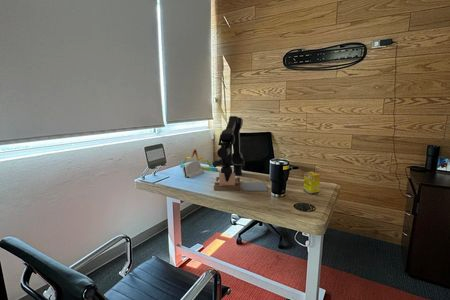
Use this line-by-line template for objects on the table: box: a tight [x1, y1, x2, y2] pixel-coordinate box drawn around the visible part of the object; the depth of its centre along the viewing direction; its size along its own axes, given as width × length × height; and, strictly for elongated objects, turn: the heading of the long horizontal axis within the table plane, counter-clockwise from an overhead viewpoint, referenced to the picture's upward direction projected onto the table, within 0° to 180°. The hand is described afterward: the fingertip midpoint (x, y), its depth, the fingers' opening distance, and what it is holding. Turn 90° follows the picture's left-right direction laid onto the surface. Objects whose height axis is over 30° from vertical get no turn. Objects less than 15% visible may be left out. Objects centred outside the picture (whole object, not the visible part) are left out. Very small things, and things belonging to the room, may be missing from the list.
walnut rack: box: [213, 176, 241, 191], centre depth 147 cm, size 17×15×2 cm
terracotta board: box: [218, 172, 236, 186], centre depth 141 cm, size 2×9×8 cm, turn 87°
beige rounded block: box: [182, 161, 205, 179], centre depth 169 cm, size 17×5×10 cm, turn 149°
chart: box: [179, 149, 219, 172], centre depth 182 cm, size 30×3×15 cm, turn 67°
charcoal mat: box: [241, 181, 269, 192], centre depth 144 cm, size 14×14×1 cm
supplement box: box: [303, 171, 321, 195], centre depth 135 cm, size 6×6×11 cm
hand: (227, 180), depth 141 cm, fingers closed on terracotta board, 2 cm apart
